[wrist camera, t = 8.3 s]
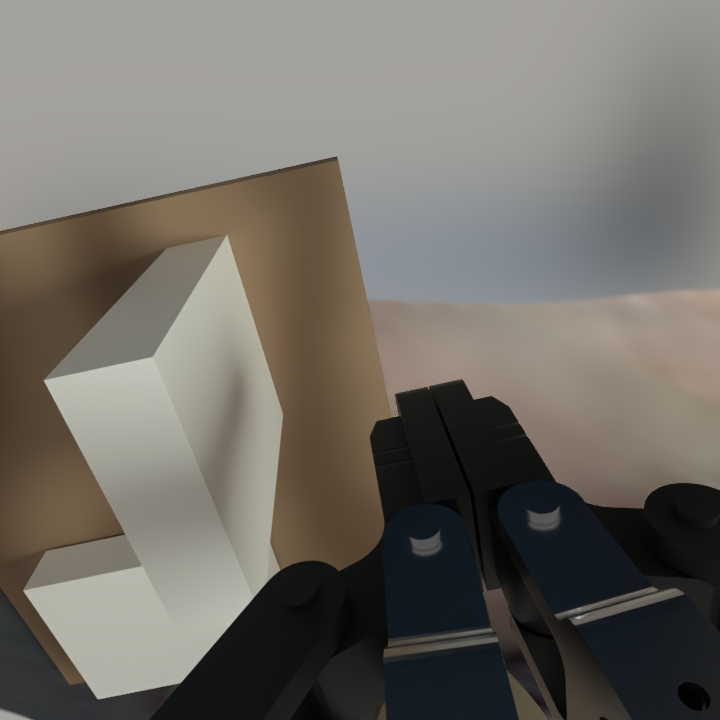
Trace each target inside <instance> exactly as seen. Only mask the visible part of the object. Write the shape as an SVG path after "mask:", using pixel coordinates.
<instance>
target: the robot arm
mask: <svg viewBox="0 0 720 720" xmlns="http://www.w3.org/2000/svg"><path fill="white" fill-rule="evenodd" d="M395 398H396V403H397V408H398V413H399V416H398V417H393V418H388V419H384V420H379V421H376V423H375V426H374V428H373V430H372V432H371V435H370V443H371V448H372V454H373V460H374V465H375V471H376V477H377V482H378V488H379V494H380V499H381V505H382V511H383V516H384V531H383V534H382V537H381V539H380V541H379V542H378V544H377V545H376V546H375V548H374V549H373V550H372V551H371V552H370V553H369V554H368V555H366V556H365V557H364V558H362V559H361V560H359V561H357V562H356V563H354V564H352V565H350V566H348V567H346V568H344V569H342V570H340V571H338V570H337V569H336V568H335V567H333V566H332V565H330V564H328V563H325V562H322V561H315V560H312V561H302V562H298V563H295V564H292V565H290V566H287V567H285V568H284V569H282V570H280V571H279V572H277V573H276V574H275V575H274V576H273V577H272V578H271V579H270V580H269V581H268V582H267V583H266V584H265V585H264V586H263V588H262V589H261V590H260V591H259V592H258V593H257V595H256V596H255V597H254V598H253V599H252V600H251V602H250V603H249V604H248V605H247V606H246V607H245V609H244V610H243V611H242V612H241V613H240V614H239V616H238V617H237V618H236V619H235V620H234V621H233V623H232V624H231V625H230V626H229V627H228V628H227V630H226V631H225V632H224V633H223V634H222V635H221V637H220V638H219V639H218V640H217V641H216V643H215V644H214V645H213V646H212V647H211V648H210V650H209V651H208V652H207V653H206V654H205V655H204V657H203V658H202V659H201V660H200V661H199V662H198V664H197V665H196V666H195V667H194V668H193V669H192V671H191V672H190V673H189V674H188V675H187V676H186V678H185V679H184V680H183V681H182V682H181V683H180V685H179V686H178V687H177V688H176V689H175V690H174V692H173V693H172V694H171V695H170V696H169V698H168V699H167V700H166V701H165V702H164V703H163V705H162V706H161V707H160V708H159V709H158V710H157V712H156V713H155V714H154V715H153V716H152V717H151V719H150V720H375V717H376V715H377V711H378V706H380V705H382V704H383V703H385V704H386V720H519V717H518V713H517V709H516V706H515V702H514V698H513V694H512V690H511V686H510V682H509V678H508V675H507V671H506V667H505V663H504V659H503V655H502V651H501V648H500V644H499V641H498V638H497V635H496V633H495V632H493V630H492V627H491V623H490V619H489V615H488V611H487V607H486V603H485V599H484V595H483V592H484V591H483V584H482V578H483V580H484V583H485V586H486V589H487V591H488V590H493V589H498V588H502V590H503V593H504V596H505V598H506V601H507V603H508V610H509V619H510V625H511V628H512V631H513V633H514V635H515V637H516V640H517V642H518V644H519V646H520V648H521V650H522V652H523V654H524V657H525V659H526V661H527V663H528V665H529V667H530V669H531V672H532V674H533V676H534V678H535V680H536V682H537V684H538V687H539V689H540V691H541V693H542V695H543V697H544V699H545V702H546V704H547V706H548V708H549V710H550V712H551V714H552V717H553V719H554V720H720V490H717V489H714V488H711V487H708V486H704V485H699V484H691V483H677V484H670V485H666V486H662V487H660V488H658V489H656V490H655V491H653V492H652V493H651V494H650V495H649V496H648V497H647V499H646V501H645V505H644V509H638V508H611V507H601V506H596V505H592V504H588V503H586V502H585V501H584V500H583V499H582V497H581V496H580V495H579V494H578V493H577V492H575V491H574V490H573V489H571V488H569V487H567V486H565V485H563V484H560V483H557V482H556V481H555V479H554V478H553V476H552V475H551V473H550V471H549V470H548V468H547V467H546V465H545V463H544V462H543V460H542V459H541V457H540V455H539V454H538V452H537V451H536V449H535V447H534V446H533V444H532V443H531V441H530V439H529V438H528V437H527V436H526V433H525V431H524V430H523V428H522V427H521V425H520V424H519V423H518V420H517V419H516V417H515V416H514V414H513V412H512V411H511V409H510V408H509V406H507V405H505V404H504V403H502V402H500V401H499V400H497V399H496V398H494V397H492V396H489V397H485V398H480V399H476V400H473V398H472V396H471V394H470V392H469V390H468V388H467V386H466V384H465V383H464V381H463V380H462V379H461V380H456V381H452V382H447V383H442V384H438V385H433V386H430V387H429V389H428V387H424V388H420V389H415V390H411V391H406V392H401V393H397V394H395ZM481 575H482V576H481Z"/></svg>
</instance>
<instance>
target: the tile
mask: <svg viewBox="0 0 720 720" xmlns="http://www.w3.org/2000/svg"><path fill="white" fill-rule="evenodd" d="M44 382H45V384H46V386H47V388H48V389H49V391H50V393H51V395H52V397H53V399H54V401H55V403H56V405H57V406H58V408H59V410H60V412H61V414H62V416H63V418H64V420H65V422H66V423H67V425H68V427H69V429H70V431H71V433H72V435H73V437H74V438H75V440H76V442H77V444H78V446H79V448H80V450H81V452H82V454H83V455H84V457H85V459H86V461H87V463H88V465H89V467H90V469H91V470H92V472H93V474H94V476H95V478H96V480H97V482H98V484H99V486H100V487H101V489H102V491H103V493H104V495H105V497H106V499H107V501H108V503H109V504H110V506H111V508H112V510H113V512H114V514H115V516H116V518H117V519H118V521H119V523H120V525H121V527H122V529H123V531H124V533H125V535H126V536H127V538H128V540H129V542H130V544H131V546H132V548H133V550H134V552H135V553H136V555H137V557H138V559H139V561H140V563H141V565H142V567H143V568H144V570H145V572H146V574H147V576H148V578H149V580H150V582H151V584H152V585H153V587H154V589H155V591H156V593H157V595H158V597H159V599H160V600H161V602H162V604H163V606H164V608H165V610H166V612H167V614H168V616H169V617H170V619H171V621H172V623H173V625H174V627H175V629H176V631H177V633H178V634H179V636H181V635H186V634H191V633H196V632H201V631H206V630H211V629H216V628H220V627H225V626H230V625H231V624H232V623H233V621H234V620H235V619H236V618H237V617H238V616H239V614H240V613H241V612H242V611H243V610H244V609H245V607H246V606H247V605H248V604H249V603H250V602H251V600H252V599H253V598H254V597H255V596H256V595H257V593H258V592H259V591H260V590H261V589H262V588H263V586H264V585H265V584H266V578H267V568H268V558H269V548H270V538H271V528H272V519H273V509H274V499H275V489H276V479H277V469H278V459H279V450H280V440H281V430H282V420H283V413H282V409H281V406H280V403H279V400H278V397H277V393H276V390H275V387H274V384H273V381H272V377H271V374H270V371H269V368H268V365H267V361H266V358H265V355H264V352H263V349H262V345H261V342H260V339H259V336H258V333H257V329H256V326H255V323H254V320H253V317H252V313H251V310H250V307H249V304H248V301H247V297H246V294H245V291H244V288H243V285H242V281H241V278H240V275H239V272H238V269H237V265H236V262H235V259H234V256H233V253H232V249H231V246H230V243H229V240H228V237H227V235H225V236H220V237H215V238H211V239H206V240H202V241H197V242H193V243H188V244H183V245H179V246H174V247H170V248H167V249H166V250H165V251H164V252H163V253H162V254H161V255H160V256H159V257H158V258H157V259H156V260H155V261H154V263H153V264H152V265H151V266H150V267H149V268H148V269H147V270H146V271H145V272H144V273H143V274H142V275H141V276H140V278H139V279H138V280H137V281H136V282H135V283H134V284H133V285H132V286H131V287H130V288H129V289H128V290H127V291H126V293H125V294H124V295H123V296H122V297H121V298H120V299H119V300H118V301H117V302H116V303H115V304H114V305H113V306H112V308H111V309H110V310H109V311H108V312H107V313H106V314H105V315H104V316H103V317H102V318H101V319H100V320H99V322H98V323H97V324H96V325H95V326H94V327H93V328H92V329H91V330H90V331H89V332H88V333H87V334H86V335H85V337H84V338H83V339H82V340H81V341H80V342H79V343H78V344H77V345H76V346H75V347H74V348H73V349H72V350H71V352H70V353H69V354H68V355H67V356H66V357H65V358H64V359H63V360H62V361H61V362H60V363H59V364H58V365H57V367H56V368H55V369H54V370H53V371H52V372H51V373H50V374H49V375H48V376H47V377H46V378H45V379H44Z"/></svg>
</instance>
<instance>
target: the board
mask: <svg viewBox="0 0 720 720" xmlns="http://www.w3.org/2000/svg"><path fill="white" fill-rule="evenodd" d="M225 235H227V237H228V240H229V243H230V246H231V249H232V253H233V256H234V259H235V262H236V265H237V269H238V272H239V275H240V278H241V281H242V285H243V288H244V291H245V294H246V297H247V301H248V304H249V307H250V310H251V313H252V317H253V320H254V323H255V326H256V329H257V333H258V336H259V339H260V342H261V345H262V349H263V352H264V355H265V358H266V361H267V365H268V368H269V371H270V374H271V377H272V381H273V384H274V387H275V390H276V393H277V397H278V400H279V403H280V406H281V409H282V413H283V420H282V430H281V440H280V450H279V459H278V469H277V479H276V489H275V499H274V509H273V519H272V528H271V538H270V544H271V547H272V549H273V552H274V555H275V557H276V560H277V563H278V565H279V568H280V570H282V569H284V568H285V567H287V566H290V565H292V564H295V563H298V562H302V561H312V560H315V561H322V562H325V563H328V564H330V565H332V566H333V567H335V568H336V569H337V570H338V571H340V570H342V569H344V568H346V567H348V566H350V565H352V564H354V563H356V562H357V561H359V560H361V559H362V558H364V557H365V556H366V555H368V554H369V553H370V552H371V551H372V550H373V549H374V548H375V546H376V545H377V544H378V542H379V541H380V539H381V537H382V534H383V531H384V516H383V511H382V505H381V499H380V494H379V488H378V482H377V477H376V471H375V465H374V460H373V454H372V448H371V443H370V435H371V432H372V430H373V428H374V426H375V423H376V421H379V420H384V419H388V418H391V414H390V409H389V404H388V399H387V395H386V390H385V385H384V380H383V375H382V370H381V366H380V361H379V356H378V351H377V346H376V341H375V337H374V332H373V327H372V322H371V317H370V312H369V308H368V303H367V298H366V293H365V288H364V284H363V279H362V274H361V269H360V264H359V259H358V255H357V250H356V245H355V240H354V235H353V230H352V225H351V221H350V216H349V211H348V206H347V202H346V196H345V192H344V187H343V182H342V177H341V172H340V167H339V163H338V159H337V157H332V158H328V159H323V160H319V161H315V162H310V163H306V164H301V165H297V166H292V167H287V168H283V169H278V170H274V171H269V172H265V173H260V174H256V175H251V176H247V177H242V178H238V179H234V180H229V181H225V182H220V183H215V184H211V185H206V186H202V187H197V188H193V189H188V190H184V191H179V192H175V193H170V194H166V195H161V196H156V197H152V198H147V199H143V200H139V201H134V202H129V203H125V204H120V205H116V206H112V207H107V208H103V209H98V210H93V211H89V212H85V213H80V214H75V215H71V216H66V217H62V218H57V219H53V220H48V221H44V222H39V223H35V224H30V225H26V226H21V227H17V228H12V229H7V230H3V231H0V588H1V589H2V590H3V592H4V593H5V595H6V596H7V597H8V599H9V600H10V602H11V603H12V604H13V606H14V607H15V609H16V610H17V611H18V613H19V614H20V616H21V617H22V618H23V620H24V621H25V623H26V624H27V625H28V627H29V628H30V630H31V631H32V632H33V634H34V635H35V637H36V638H37V639H38V641H39V642H40V644H41V645H42V646H43V648H44V649H45V651H46V652H47V653H48V655H49V656H50V658H51V659H52V660H53V662H54V663H55V665H56V666H57V667H58V669H59V670H60V672H61V673H62V675H63V676H64V677H65V679H66V680H67V682H68V683H69V684H70V685H73V684H78V683H83V682H86V681H85V680H84V678H83V677H82V675H81V674H80V673H79V671H78V670H77V668H76V667H75V665H74V664H73V662H72V661H71V659H70V658H69V657H68V655H67V654H66V652H65V651H64V649H63V648H62V646H61V645H60V643H59V642H58V641H57V639H56V638H55V636H54V635H53V633H52V632H51V630H50V629H49V628H48V626H47V625H46V623H45V622H44V620H43V619H42V617H41V616H40V614H39V613H38V612H37V610H36V609H35V607H34V606H33V604H32V603H31V601H30V600H29V598H28V597H27V596H26V594H25V593H24V591H23V590H24V588H25V586H26V585H27V583H28V581H29V579H30V578H31V576H32V574H33V573H34V571H35V569H36V567H37V566H38V564H39V562H40V561H41V559H42V557H43V555H44V554H45V552H46V551H49V550H54V549H59V548H63V547H68V546H73V545H78V544H83V543H88V542H93V541H97V540H102V539H107V538H112V537H117V536H122V535H125V533H124V531H123V529H122V527H121V525H120V523H119V521H118V519H117V518H116V516H115V514H114V512H113V510H112V508H111V506H110V504H109V503H108V501H107V499H106V497H105V495H104V493H103V491H102V489H101V487H100V486H99V484H98V482H97V480H96V478H95V476H94V474H93V472H92V470H91V469H90V467H89V465H88V463H87V461H86V459H85V457H84V455H83V454H82V452H81V450H80V448H79V446H78V444H77V442H76V440H75V438H74V437H73V435H72V433H71V431H70V429H69V427H68V425H67V423H66V422H65V420H64V418H63V416H62V414H61V412H60V410H59V408H58V406H57V405H56V403H55V401H54V399H53V397H52V395H51V393H50V391H49V389H48V388H47V386H46V384H45V382H44V379H45V378H46V377H47V376H48V375H49V374H50V373H51V372H52V371H53V370H54V369H55V368H56V367H57V365H58V364H59V363H60V362H61V361H62V360H63V359H64V358H65V357H66V356H67V355H68V354H69V353H70V352H71V350H72V349H73V348H74V347H75V346H76V345H77V344H78V343H79V342H80V341H81V340H82V339H83V338H84V337H85V335H86V334H87V333H88V332H89V331H90V330H91V329H92V328H93V327H94V326H95V325H96V324H97V323H98V322H99V320H100V319H101V318H102V317H103V316H104V315H105V314H106V313H107V312H108V311H109V310H110V309H111V308H112V306H113V305H114V304H115V303H116V302H117V301H118V300H119V299H120V298H121V297H122V296H123V295H124V294H125V293H126V291H127V290H128V289H129V288H130V287H131V286H132V285H133V284H134V283H135V282H136V281H137V280H138V279H139V278H140V276H141V275H142V274H143V273H144V272H145V271H146V270H147V269H148V268H149V267H150V266H151V265H152V264H153V263H154V261H155V260H156V259H157V258H158V257H159V256H160V255H161V254H162V253H163V252H164V251H165V250H166V249H167V248H170V247H174V246H179V245H183V244H188V243H193V242H197V241H202V240H206V239H211V238H215V237H220V236H225Z"/></svg>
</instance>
